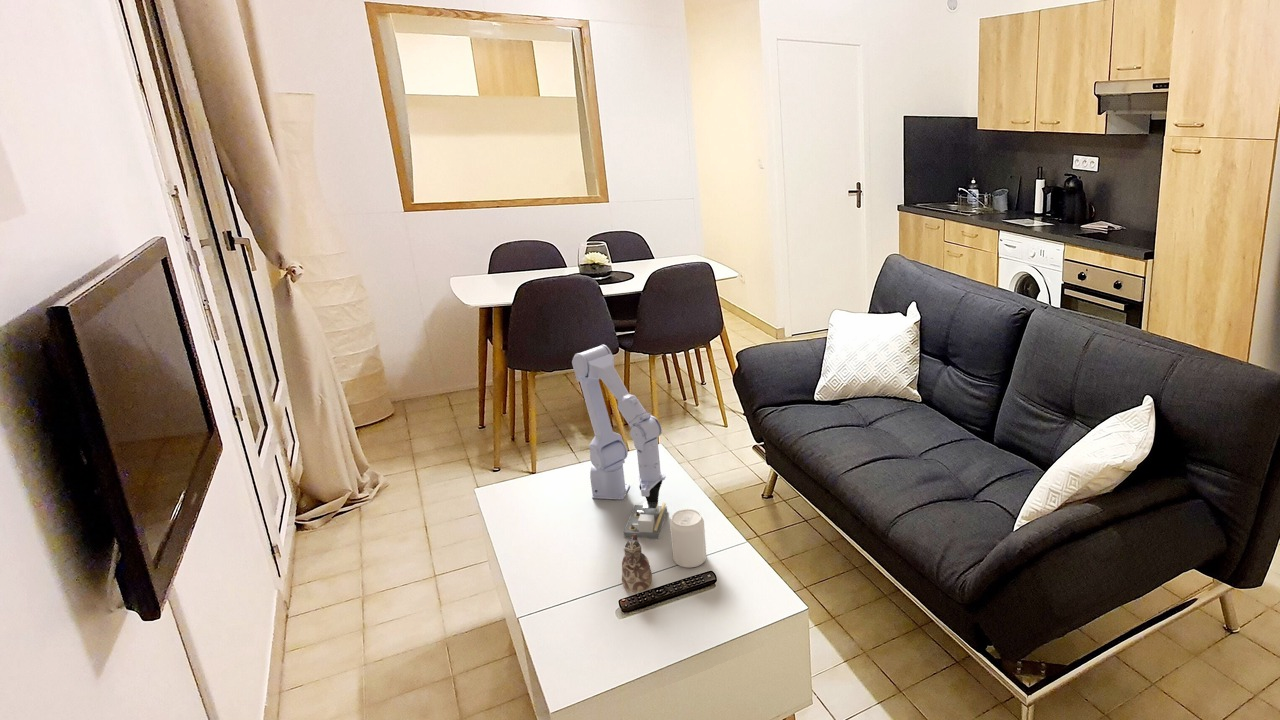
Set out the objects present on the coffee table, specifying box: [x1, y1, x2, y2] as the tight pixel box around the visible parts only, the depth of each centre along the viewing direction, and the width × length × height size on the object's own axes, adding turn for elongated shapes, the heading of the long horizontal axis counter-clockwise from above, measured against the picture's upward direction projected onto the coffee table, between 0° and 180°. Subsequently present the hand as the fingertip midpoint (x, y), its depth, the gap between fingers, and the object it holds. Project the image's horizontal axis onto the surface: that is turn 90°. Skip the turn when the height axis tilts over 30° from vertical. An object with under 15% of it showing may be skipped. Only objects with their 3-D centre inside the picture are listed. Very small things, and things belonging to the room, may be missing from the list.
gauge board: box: [623, 502, 668, 540], centre depth 185 cm, size 9×13×5 cm
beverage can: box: [669, 508, 707, 568], centre depth 168 cm, size 8×8×12 cm
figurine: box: [621, 534, 653, 594], centre depth 162 cm, size 7×7×12 cm
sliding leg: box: [636, 501, 660, 518], centre depth 186 cm, size 6×3×3 cm, turn 77°
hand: (653, 505), depth 189 cm, fingers closed
